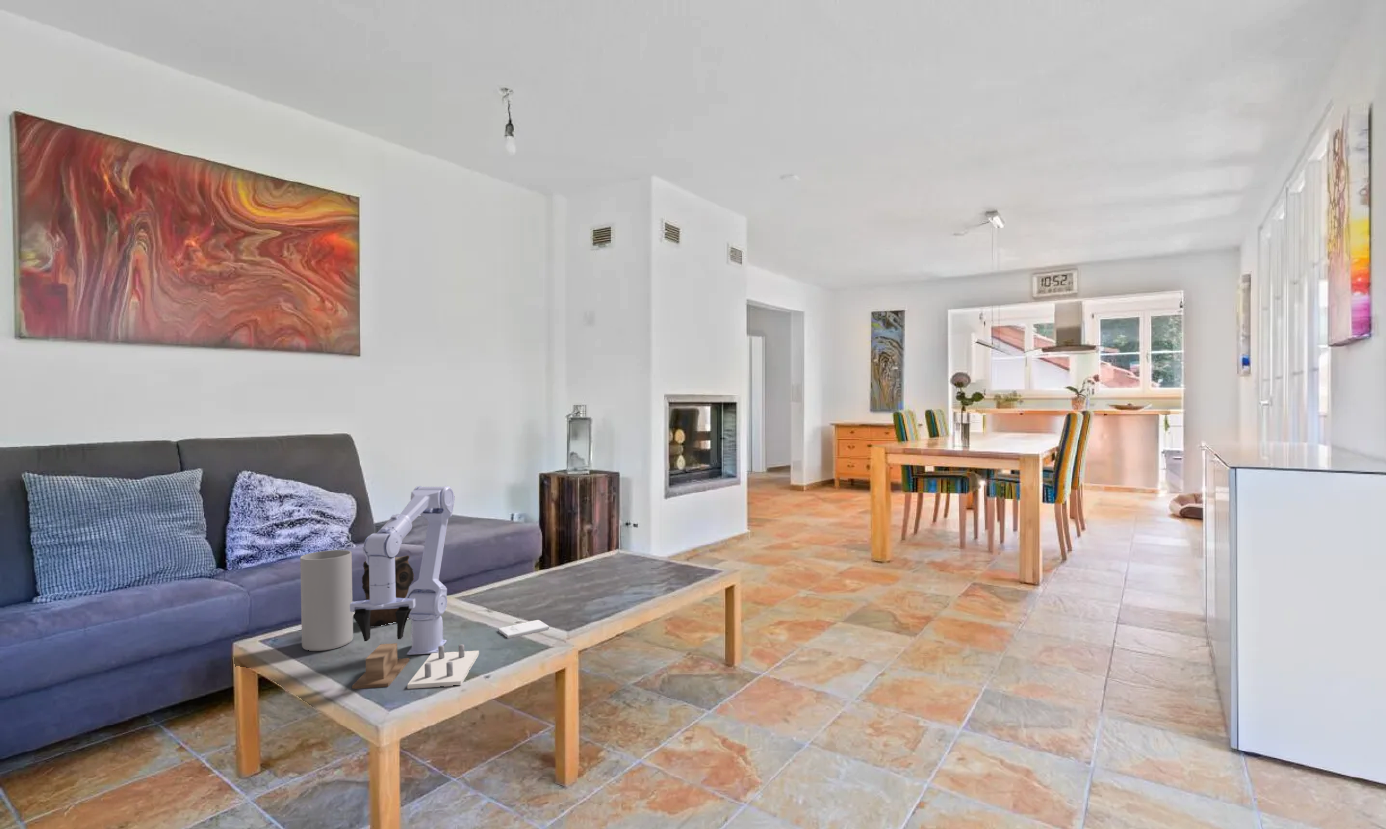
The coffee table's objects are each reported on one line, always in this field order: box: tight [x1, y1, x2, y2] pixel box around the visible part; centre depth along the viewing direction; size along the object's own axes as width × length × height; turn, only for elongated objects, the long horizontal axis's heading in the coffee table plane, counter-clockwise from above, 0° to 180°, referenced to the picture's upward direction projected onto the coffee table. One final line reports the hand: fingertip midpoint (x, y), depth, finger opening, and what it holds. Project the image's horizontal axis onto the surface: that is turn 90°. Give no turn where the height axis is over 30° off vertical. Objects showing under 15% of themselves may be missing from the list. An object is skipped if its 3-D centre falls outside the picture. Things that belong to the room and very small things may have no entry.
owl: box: [361, 555, 415, 626], centre depth 202 cm, size 13×13×20 cm
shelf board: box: [351, 642, 410, 690], centre depth 161 cm, size 16×8×6 cm, turn 7°
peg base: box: [407, 643, 480, 690], centre depth 163 cm, size 20×12×4 cm, turn 7°
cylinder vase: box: [299, 549, 354, 652], centre depth 183 cm, size 12×12×25 cm
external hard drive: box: [497, 619, 550, 639], centre depth 192 cm, size 2×8×12 cm
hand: (383, 638), depth 159 cm, fingers open, 7 cm apart
